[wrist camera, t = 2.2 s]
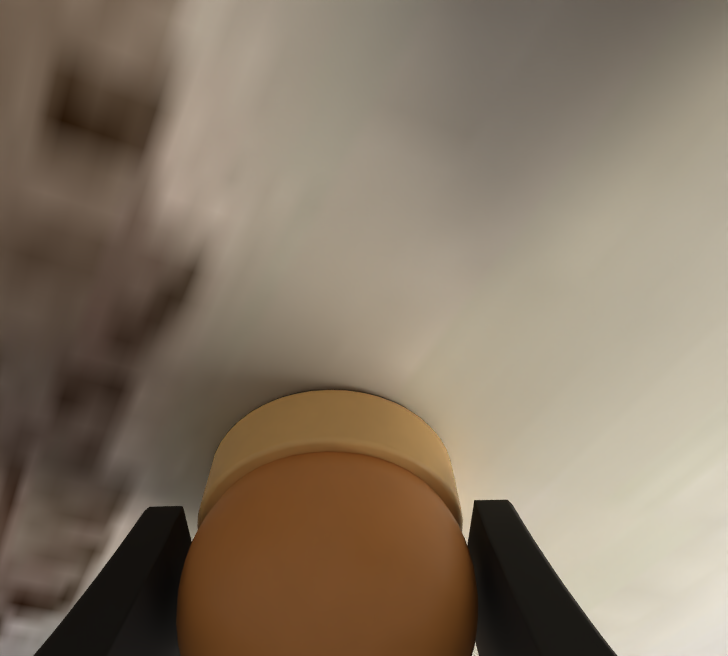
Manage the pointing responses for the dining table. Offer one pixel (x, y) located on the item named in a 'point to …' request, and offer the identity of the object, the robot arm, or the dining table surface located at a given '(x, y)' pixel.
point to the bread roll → (329, 537)
